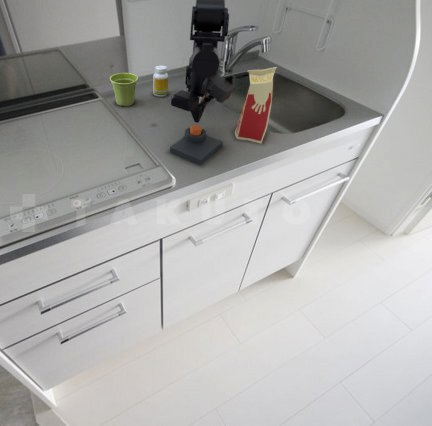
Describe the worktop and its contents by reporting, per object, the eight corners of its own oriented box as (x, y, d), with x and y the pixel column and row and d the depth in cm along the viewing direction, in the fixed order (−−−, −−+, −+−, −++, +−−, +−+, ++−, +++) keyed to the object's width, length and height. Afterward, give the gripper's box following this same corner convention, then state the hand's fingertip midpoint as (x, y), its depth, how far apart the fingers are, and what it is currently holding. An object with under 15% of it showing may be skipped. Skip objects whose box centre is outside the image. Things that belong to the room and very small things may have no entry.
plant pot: (143, 104, 107) (143, 79, 101) (120, 111, 103) (118, 85, 97) (130, 95, 112) (129, 70, 106) (107, 101, 108) (104, 76, 102)
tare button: (193, 129, 89) (194, 123, 87) (203, 132, 87) (203, 127, 86) (187, 133, 87) (188, 127, 86) (197, 137, 85) (198, 131, 84)
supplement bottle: (151, 92, 115) (151, 65, 108) (164, 90, 116) (165, 63, 109) (156, 98, 111) (156, 70, 104) (169, 96, 112) (170, 69, 106)
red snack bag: (265, 129, 96) (285, 62, 82) (262, 144, 89) (283, 74, 75) (236, 124, 98) (251, 58, 84) (232, 138, 91) (246, 69, 77)
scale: (191, 135, 92) (192, 124, 90) (221, 147, 88) (224, 136, 85) (168, 152, 85) (168, 141, 83) (200, 166, 81) (201, 154, 78)
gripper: (213, 82, 65) (204, 145, 76) (250, 60, 76) (238, 118, 87) (170, 70, 70) (168, 131, 81) (211, 51, 81) (204, 107, 91)
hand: (196, 121), depth 85 cm, fingers closed
